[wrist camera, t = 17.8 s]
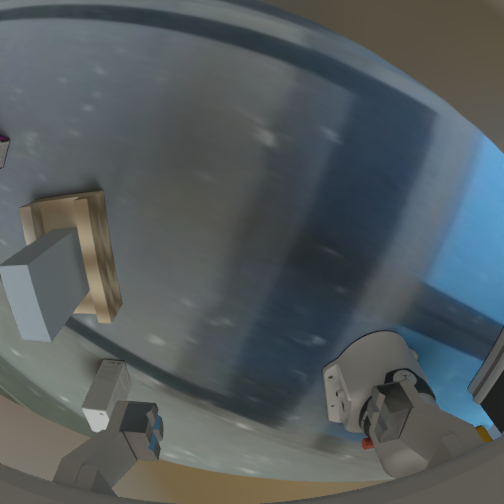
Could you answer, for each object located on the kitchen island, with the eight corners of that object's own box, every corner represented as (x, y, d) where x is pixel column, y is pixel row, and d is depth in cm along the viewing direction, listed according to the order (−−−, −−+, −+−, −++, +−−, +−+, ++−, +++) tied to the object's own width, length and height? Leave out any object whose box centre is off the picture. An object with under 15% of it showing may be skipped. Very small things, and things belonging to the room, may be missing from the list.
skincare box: (102, 358, 49) (80, 406, 38) (125, 360, 49) (106, 411, 38) (110, 383, 51) (92, 432, 40) (131, 386, 51) (116, 435, 40)
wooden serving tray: (122, 303, 45) (111, 323, 40) (61, 303, 45) (46, 321, 40) (103, 190, 39) (87, 198, 34) (38, 199, 39) (17, 208, 34)
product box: (78, 227, 38) (27, 264, 26) (91, 289, 41) (51, 341, 29) (51, 229, 38) (-3, 266, 26) (65, 289, 41) (21, 339, 29)
